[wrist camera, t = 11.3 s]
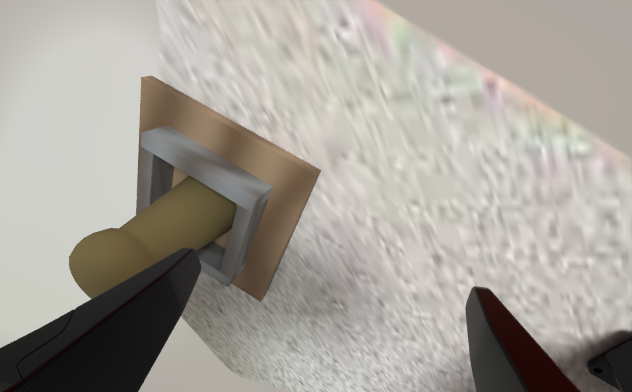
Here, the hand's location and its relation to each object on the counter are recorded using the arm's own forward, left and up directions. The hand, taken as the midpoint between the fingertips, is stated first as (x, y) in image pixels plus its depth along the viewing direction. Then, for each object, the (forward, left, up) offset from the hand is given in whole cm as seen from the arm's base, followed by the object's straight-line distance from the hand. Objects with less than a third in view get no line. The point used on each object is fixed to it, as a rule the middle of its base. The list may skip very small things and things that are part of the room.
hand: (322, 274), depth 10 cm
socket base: (+12, +12, -13) cm, 21 cm away
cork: (+12, +12, -12) cm, 20 cm away
